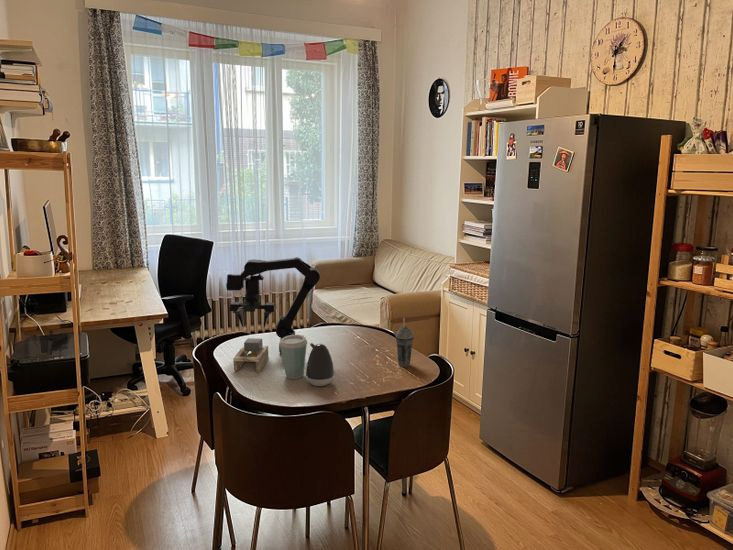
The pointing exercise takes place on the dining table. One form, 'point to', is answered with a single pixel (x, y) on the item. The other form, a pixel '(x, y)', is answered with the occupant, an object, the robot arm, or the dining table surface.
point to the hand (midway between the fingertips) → (253, 326)
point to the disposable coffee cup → (293, 355)
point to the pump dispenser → (319, 366)
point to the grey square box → (253, 346)
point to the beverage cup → (404, 345)
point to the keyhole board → (251, 358)
